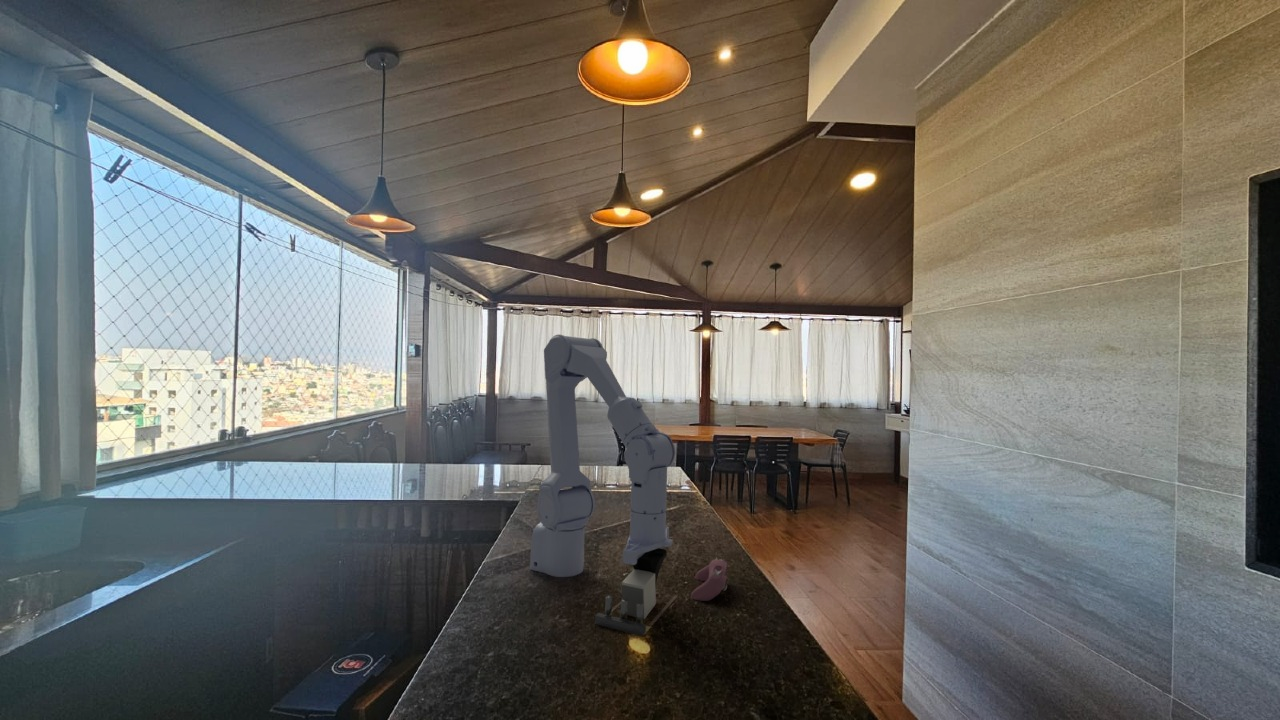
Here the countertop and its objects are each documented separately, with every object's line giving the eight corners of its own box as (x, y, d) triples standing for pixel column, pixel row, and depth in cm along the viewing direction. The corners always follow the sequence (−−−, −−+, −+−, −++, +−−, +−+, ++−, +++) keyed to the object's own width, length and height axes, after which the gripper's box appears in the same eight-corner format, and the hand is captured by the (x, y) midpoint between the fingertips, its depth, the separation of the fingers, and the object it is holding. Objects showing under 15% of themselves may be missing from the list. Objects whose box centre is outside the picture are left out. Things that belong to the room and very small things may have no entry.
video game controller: (712, 617, 82) (733, 580, 81) (687, 601, 82) (708, 564, 82) (714, 592, 91) (733, 559, 91) (692, 578, 92) (711, 545, 92)
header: (594, 624, 73) (595, 599, 73) (601, 617, 75) (602, 593, 75) (642, 636, 70) (643, 610, 70) (648, 629, 72) (649, 604, 72)
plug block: (622, 614, 76) (621, 582, 76) (634, 599, 81) (634, 568, 80) (643, 619, 75) (643, 587, 74) (655, 603, 79) (655, 572, 79)
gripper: (654, 524, 72) (652, 620, 72) (686, 503, 86) (684, 584, 85) (610, 517, 75) (608, 610, 75) (648, 498, 89) (646, 577, 88)
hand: (646, 596), depth 80 cm, fingers closed, pressing on plug block
